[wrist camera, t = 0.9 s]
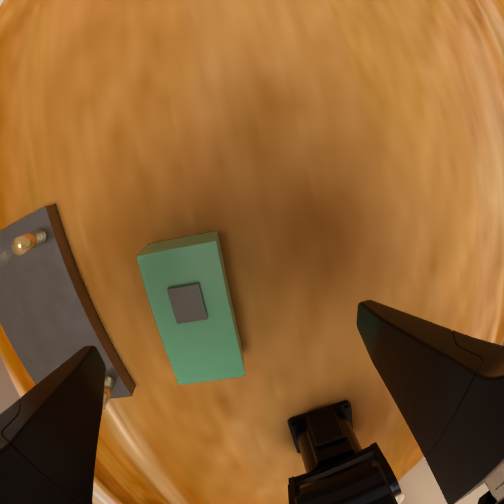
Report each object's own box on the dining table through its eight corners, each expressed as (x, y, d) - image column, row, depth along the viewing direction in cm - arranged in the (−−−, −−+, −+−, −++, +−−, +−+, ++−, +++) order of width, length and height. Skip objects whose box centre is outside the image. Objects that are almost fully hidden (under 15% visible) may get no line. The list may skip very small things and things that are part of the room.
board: (242, 349, 23) (245, 379, 19) (183, 358, 23) (178, 388, 19) (217, 229, 21) (215, 242, 17) (150, 242, 20) (134, 258, 17)
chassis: (135, 385, 23) (123, 419, 19) (53, 393, 23) (37, 420, 19) (55, 203, 18) (22, 212, 14) (-20, 244, 18) (-50, 258, 14)
